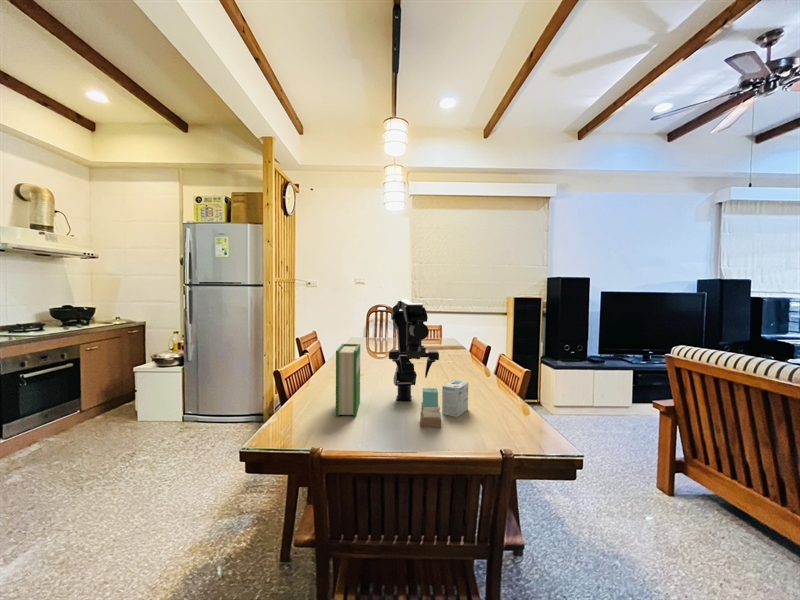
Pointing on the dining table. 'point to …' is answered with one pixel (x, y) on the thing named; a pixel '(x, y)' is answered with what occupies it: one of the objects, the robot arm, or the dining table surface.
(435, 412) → the maple block
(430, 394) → the teal cube
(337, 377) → the hardback book
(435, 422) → the walnut slab
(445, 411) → the light bulb box
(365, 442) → the dining table surface
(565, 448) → the dining table surface
